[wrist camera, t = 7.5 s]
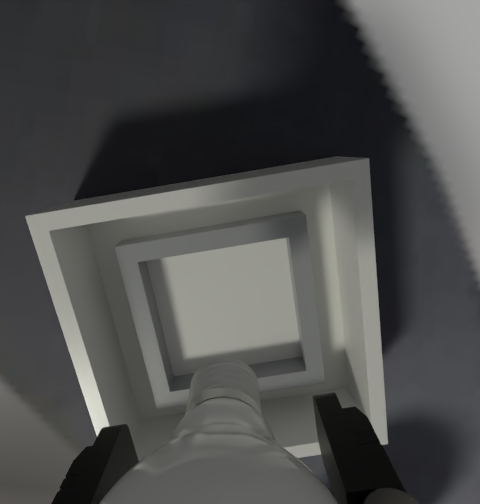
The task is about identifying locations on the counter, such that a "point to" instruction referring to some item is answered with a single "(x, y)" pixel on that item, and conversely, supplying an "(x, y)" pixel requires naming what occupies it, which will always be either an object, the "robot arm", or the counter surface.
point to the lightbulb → (221, 451)
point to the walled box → (221, 295)
